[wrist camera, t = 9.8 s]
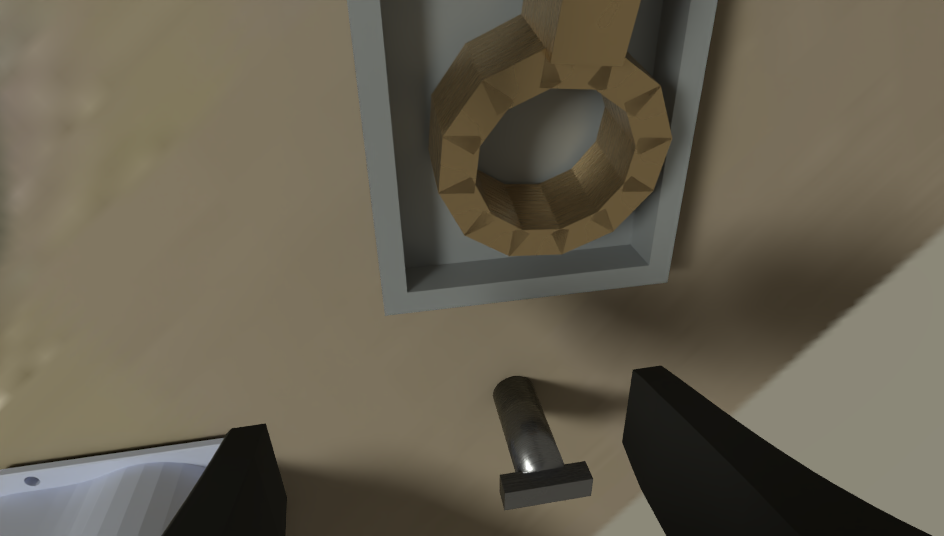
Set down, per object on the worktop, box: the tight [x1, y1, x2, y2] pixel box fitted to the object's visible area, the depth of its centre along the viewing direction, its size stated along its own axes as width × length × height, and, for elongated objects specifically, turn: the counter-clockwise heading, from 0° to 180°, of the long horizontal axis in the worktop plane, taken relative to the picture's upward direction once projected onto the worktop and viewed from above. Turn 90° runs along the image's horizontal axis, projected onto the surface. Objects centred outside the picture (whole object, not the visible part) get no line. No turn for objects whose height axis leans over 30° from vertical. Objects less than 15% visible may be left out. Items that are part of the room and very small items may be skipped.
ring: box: [428, 0, 672, 256], centre depth 16 cm, size 6×9×3 cm
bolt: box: [493, 376, 593, 510], centre depth 22 cm, size 3×2×5 cm, turn 91°
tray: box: [347, 0, 718, 316], centre depth 18 cm, size 10×11×2 cm
